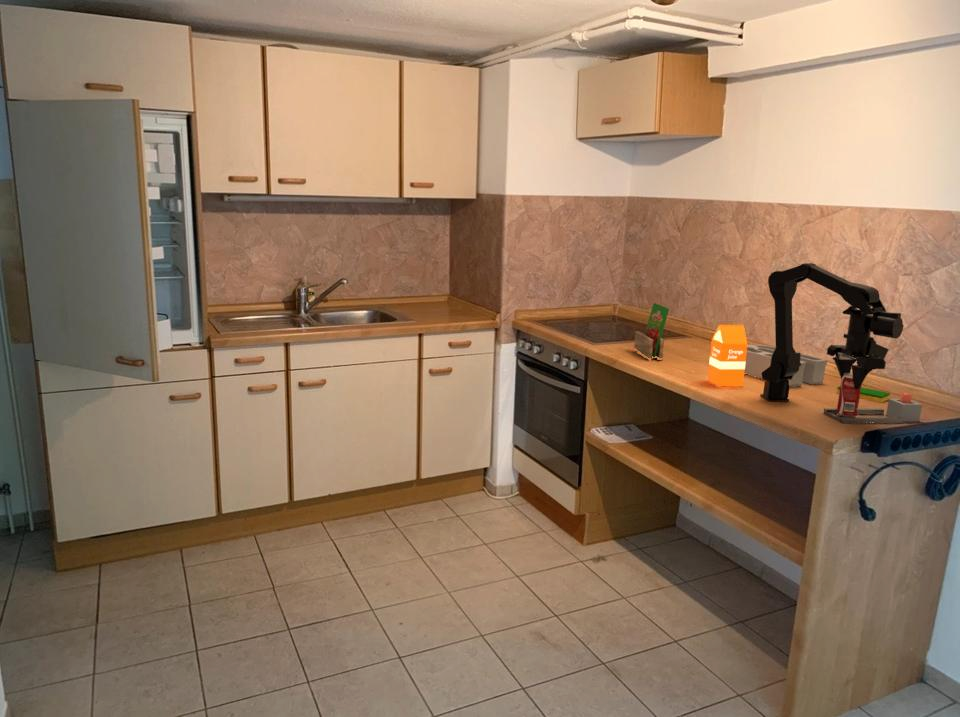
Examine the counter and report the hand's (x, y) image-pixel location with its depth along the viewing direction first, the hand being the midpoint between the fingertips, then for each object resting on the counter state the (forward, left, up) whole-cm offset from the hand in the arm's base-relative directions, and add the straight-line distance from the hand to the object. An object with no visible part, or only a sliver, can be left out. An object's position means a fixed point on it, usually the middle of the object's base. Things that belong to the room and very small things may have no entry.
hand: (850, 386), depth 209 cm
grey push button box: (+18, 0, -9) cm, 20 cm away
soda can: (0, 0, -9) cm, 9 cm away
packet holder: (-31, +80, -9) cm, 86 cm away
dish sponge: (+21, +24, -10) cm, 33 cm away
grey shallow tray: (+5, 0, -9) cm, 11 cm away
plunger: (+17, 0, -7) cm, 19 cm away
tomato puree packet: (-31, +80, -10) cm, 87 cm away
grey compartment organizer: (+4, +49, -10) cm, 50 cm away
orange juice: (-19, +38, -10) cm, 44 cm away
